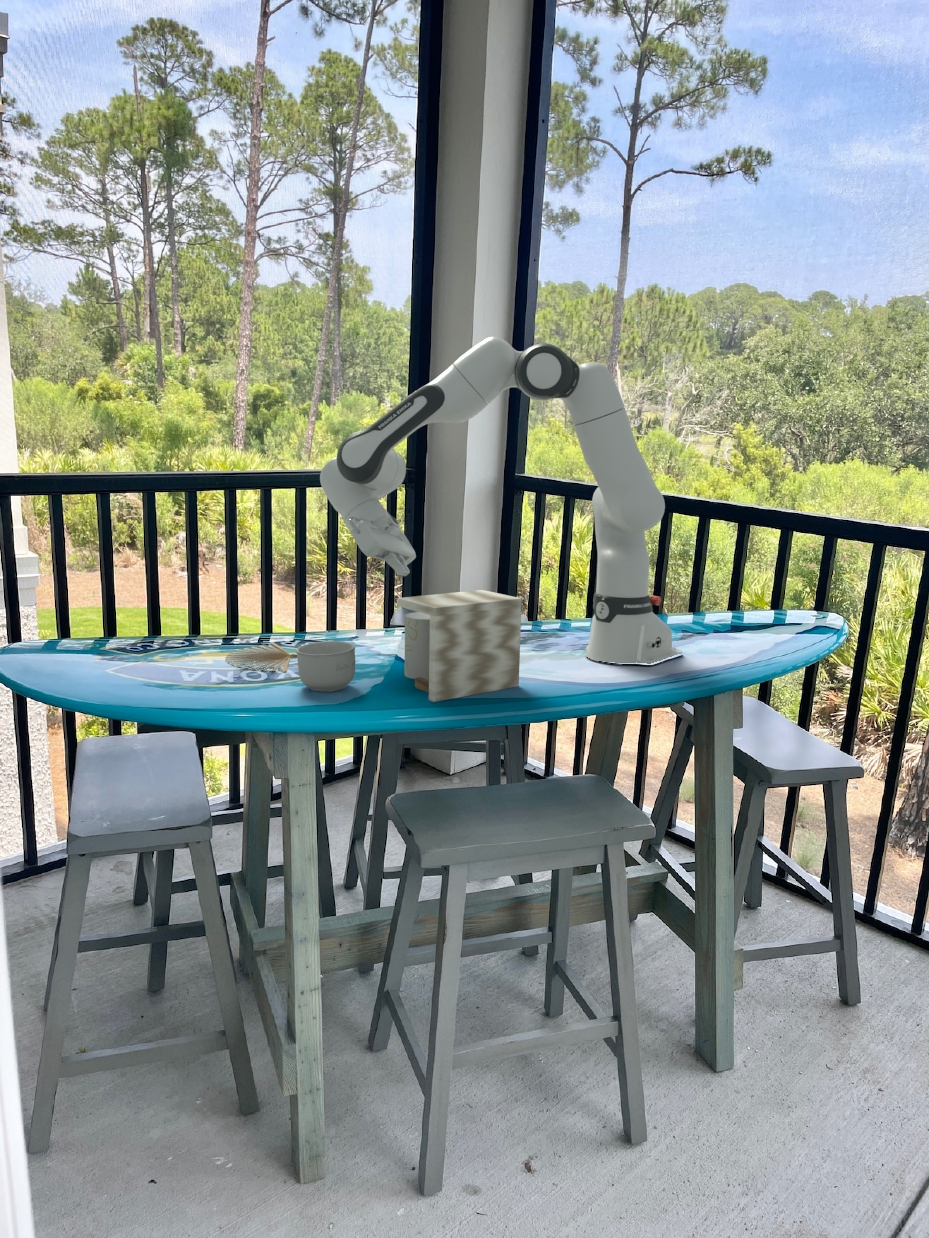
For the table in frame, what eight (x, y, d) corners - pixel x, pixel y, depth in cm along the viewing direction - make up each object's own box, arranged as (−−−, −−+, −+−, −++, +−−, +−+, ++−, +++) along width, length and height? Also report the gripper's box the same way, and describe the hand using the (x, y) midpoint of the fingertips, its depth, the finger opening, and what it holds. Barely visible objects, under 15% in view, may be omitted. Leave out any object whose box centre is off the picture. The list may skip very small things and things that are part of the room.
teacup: (345, 697, 161) (345, 654, 160) (288, 693, 163) (287, 650, 161) (366, 678, 175) (366, 638, 173) (313, 675, 176) (312, 635, 175)
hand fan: (292, 645, 204) (223, 647, 199) (292, 641, 203) (223, 644, 199) (304, 672, 179) (227, 676, 175) (304, 669, 179) (227, 672, 174)
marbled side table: (479, 672, 180) (481, 589, 177) (518, 686, 171) (521, 598, 168) (396, 687, 168) (397, 598, 165) (433, 702, 159) (435, 607, 156)
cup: (404, 669, 182) (404, 611, 180) (444, 669, 183) (445, 611, 180) (404, 679, 174) (405, 619, 172) (446, 679, 175) (447, 619, 172)
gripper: (357, 505, 180) (394, 558, 176) (400, 521, 199) (434, 569, 195) (335, 525, 181) (371, 578, 178) (380, 539, 200) (413, 587, 197)
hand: (404, 574), depth 187 cm, fingers closed
